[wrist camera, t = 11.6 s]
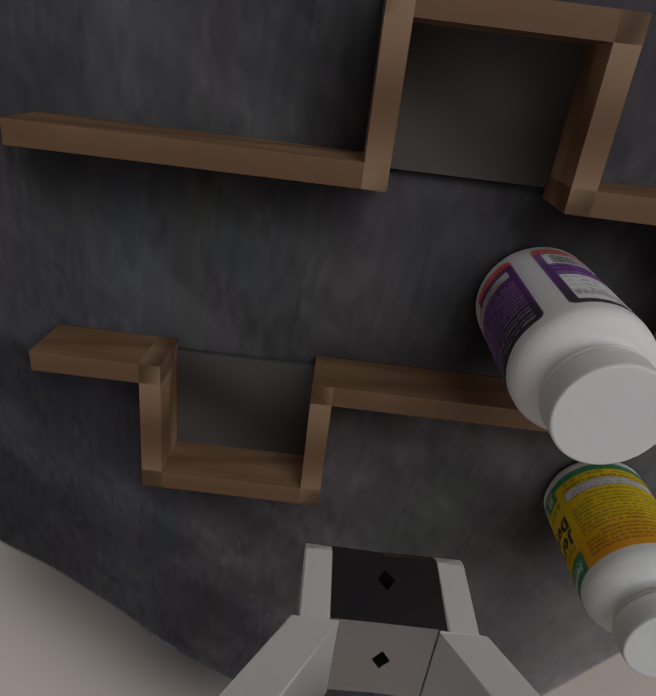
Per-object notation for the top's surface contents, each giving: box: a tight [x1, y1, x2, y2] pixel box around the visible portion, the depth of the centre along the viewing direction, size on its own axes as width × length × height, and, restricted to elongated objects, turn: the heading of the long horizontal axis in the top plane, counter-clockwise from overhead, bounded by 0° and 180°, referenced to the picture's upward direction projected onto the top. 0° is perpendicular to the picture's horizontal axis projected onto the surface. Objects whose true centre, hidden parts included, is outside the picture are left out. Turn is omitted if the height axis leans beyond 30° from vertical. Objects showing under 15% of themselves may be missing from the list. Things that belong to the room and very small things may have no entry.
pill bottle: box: [476, 247, 656, 465], centre depth 23 cm, size 5×5×10 cm
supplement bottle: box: [544, 462, 656, 678], centre depth 28 cm, size 5×5×10 cm
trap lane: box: [0, 0, 656, 506], centre depth 26 cm, size 23×30×3 cm
